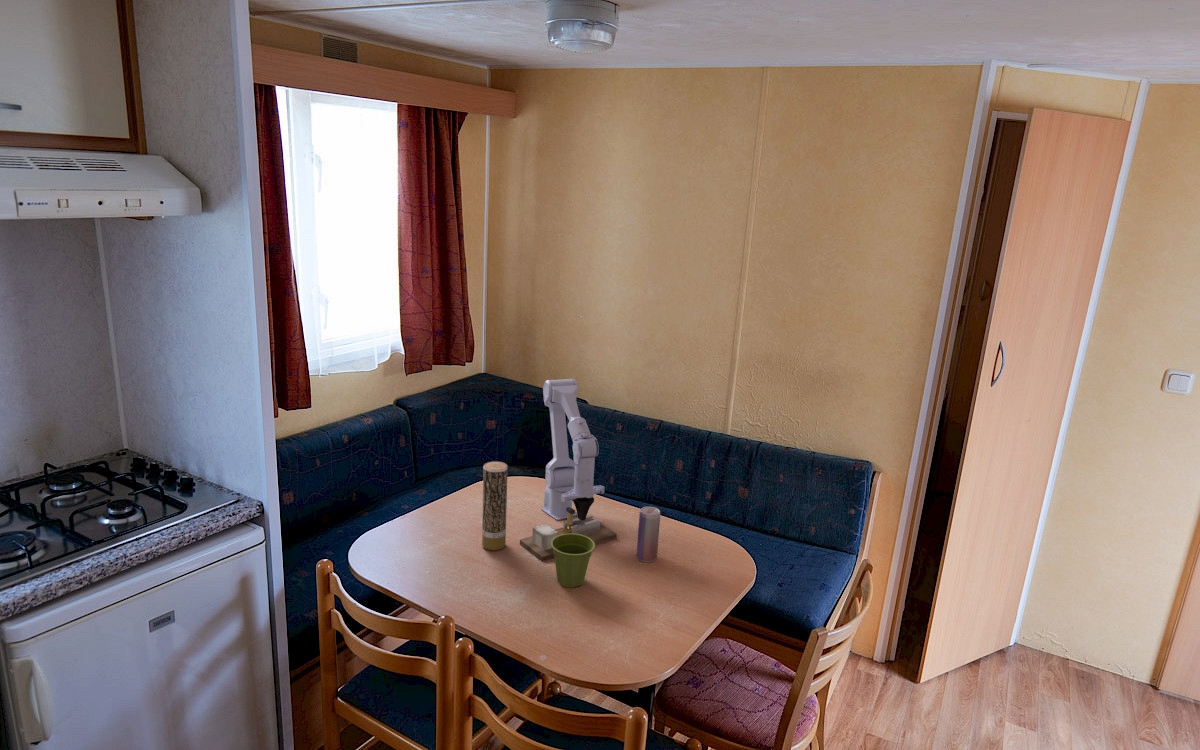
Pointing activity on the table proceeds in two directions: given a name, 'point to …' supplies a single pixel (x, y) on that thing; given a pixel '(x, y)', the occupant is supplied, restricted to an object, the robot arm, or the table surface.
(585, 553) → the plant pot
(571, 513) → the sliding latch bolt
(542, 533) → the socket block
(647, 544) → the beverage can
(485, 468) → the brown tall cylinder
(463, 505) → the table surface
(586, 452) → the robot arm
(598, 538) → the base board
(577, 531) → the sleeve
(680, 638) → the table surface
